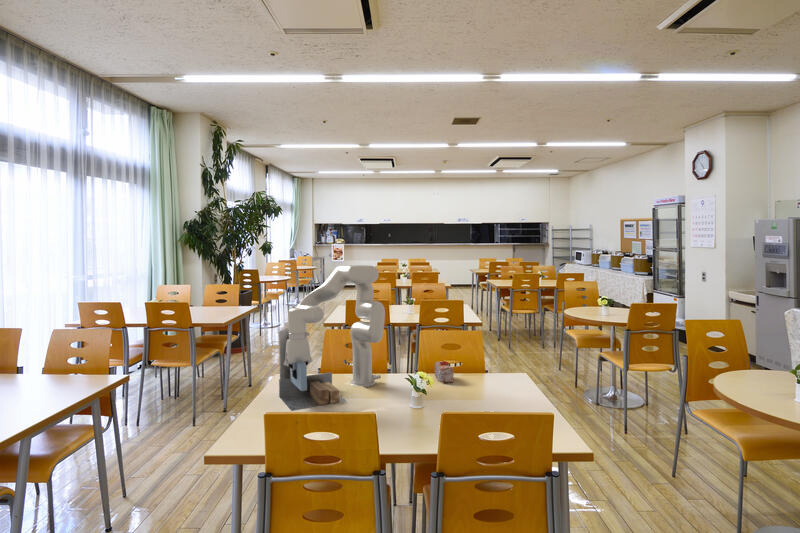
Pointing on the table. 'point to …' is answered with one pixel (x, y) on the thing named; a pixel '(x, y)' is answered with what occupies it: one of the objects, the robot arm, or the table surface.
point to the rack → (303, 392)
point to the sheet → (300, 376)
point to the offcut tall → (319, 392)
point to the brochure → (283, 354)
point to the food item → (444, 371)
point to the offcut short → (332, 392)
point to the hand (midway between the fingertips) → (298, 377)
